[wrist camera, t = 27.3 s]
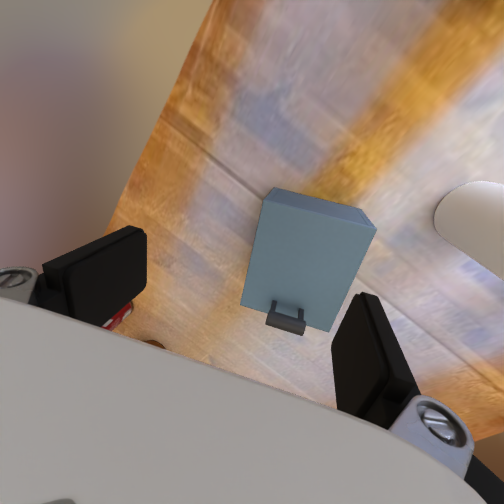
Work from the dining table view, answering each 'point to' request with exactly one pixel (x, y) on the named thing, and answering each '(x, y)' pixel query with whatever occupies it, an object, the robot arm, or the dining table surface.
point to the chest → (319, 206)
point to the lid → (302, 266)
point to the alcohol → (475, 222)
